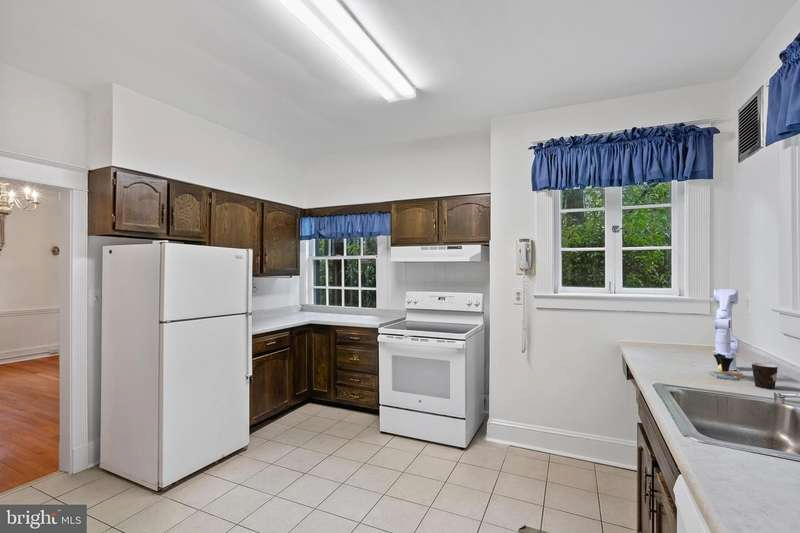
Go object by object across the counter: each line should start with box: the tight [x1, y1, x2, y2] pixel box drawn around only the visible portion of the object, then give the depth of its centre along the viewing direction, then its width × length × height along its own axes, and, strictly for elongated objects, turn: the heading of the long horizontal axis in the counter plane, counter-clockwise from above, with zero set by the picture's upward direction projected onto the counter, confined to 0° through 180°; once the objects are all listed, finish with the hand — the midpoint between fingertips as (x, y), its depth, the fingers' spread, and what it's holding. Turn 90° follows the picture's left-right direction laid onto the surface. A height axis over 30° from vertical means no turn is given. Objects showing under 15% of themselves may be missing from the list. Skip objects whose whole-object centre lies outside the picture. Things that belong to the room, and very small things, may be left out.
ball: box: [717, 364, 727, 373], centre depth 189 cm, size 4×4×4 cm
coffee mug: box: [751, 362, 779, 390], centre depth 172 cm, size 12×9×10 cm
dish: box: [727, 370, 744, 378], centre depth 194 cm, size 8×8×1 cm
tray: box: [709, 370, 739, 381], centre depth 189 cm, size 10×8×2 cm
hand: (723, 370), depth 189 cm, fingers closed on ball, 4 cm apart
